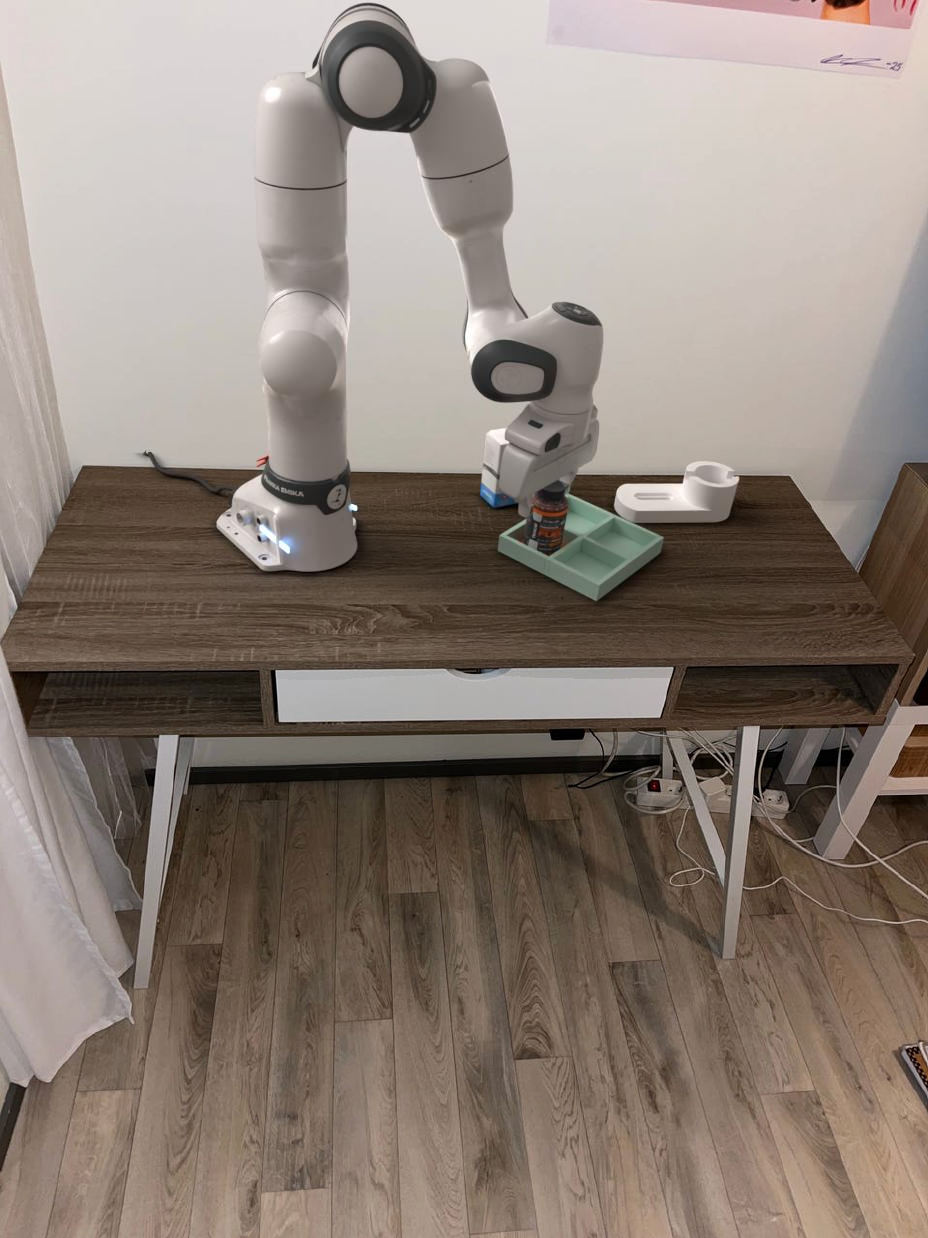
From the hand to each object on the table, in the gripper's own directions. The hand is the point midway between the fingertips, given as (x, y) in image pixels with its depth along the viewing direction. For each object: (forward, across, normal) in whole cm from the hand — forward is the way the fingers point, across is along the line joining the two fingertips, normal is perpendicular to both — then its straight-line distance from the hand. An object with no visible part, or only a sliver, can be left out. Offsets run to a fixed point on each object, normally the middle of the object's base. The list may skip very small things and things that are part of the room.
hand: (543, 503), depth 151 cm
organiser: (+8, -5, +5) cm, 11 cm away
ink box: (+9, -10, -13) cm, 19 cm away
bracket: (+8, -28, +8) cm, 30 cm away
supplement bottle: (+8, -1, +1) cm, 8 cm away
